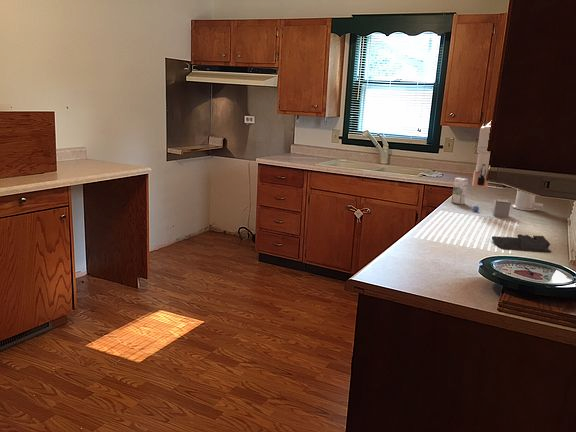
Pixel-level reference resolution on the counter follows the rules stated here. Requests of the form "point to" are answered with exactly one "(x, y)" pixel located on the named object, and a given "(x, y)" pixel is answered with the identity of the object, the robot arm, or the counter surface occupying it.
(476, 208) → the marble
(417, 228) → the counter surface
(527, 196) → the robot arm
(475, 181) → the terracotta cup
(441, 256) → the counter surface
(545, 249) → the dark slate chunk
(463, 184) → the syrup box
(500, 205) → the gray block
